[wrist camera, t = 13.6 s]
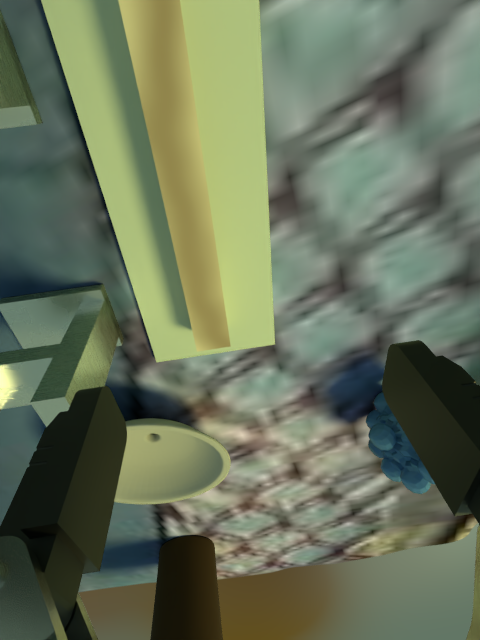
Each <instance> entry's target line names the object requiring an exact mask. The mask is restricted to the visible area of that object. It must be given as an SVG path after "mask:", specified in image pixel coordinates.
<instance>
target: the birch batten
mask: <svg viewBox="0 0 480 640" xmlns="http://www.w3.org/2000/svg"><path fill="white" fill-rule="evenodd" d="M118 1H119V6H120V10H121V15H122V19H123V24H124V28H125V33H126V37H127V42H128V46H129V51H130V55H131V59H132V64H133V68H134V73H135V77H136V82H137V86H138V91H139V95H140V100H141V104H142V109H143V113H144V117H145V122H146V126H147V131H148V135H149V140H150V144H151V149H152V153H153V158H154V162H155V167H156V171H157V175H158V180H159V184H160V189H161V193H162V198H163V202H164V207H165V211H166V216H167V220H168V225H169V229H170V233H171V238H172V242H173V247H174V251H175V256H176V260H177V265H178V269H179V274H180V278H181V283H182V287H183V291H184V296H185V300H186V305H187V309H188V314H189V318H190V323H191V327H192V332H193V336H194V341H195V345H196V349H197V352H198V351H205V350H211V349H218V348H224V347H231V345H230V338H229V331H228V325H227V318H226V311H225V304H224V297H223V291H222V284H221V277H220V270H219V263H218V256H217V250H216V243H215V236H214V229H213V222H212V216H211V209H210V202H209V195H208V188H207V182H206V175H205V168H204V161H203V154H202V148H201V141H200V134H199V127H198V120H197V114H196V107H195V100H194V93H193V86H192V80H191V73H190V66H189V59H188V52H187V46H186V39H185V32H184V25H183V18H182V11H181V5H180V0H118Z"/></svg>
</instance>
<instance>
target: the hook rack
mask: <svg viewBox="0 0 480 640" xmlns="http://www.w3.org/2000/svg"><path fill="white" fill-rule="evenodd" d="M41 123H43V122H42V120H41V117H40V114H39V112H38V109H37V106H36V104H35V101H34V98H33V96H32V93H31V90H30V88H29V85H28V82H27V80H26V77H25V74H24V72H23V69H22V66H21V64H20V61H19V58H18V56H17V53H16V50H15V48H14V45H13V42H12V40H11V37H10V34H9V32H8V29H7V26H6V24H5V21H4V18H3V16H2V13H1V10H0V129H2V128H10V127H19V126H27V125H35V124H41ZM0 311H1V313H2V315H3V316H4V318H5V320H6V321H7V323H8V325H9V326H10V328H11V330H12V331H13V333H14V335H15V336H16V338H17V339H18V341H19V343H20V344H21V346H22V348H23V349H20V350H14V351H7V352H0V410H1V409H6V408H12V407H19V406H25V405H32V406H33V408H34V409H35V411H36V412H37V414H38V415H39V417H40V418H41V420H42V421H43V423H44V424H45V426H46V427H47V426H48V425H49V424H50V423H51V422H52V420H53V419H54V418H55V417H56V416H57V415H58V414H59V413H60V412H64V411H68V410H69V407H70V405H71V402H72V400H73V398H74V395H75V393H76V392H77V391H78V390H82V389H89V388H96V387H102V386H105V382H106V379H107V376H108V372H109V369H110V365H111V362H112V358H113V355H114V351H115V348H116V346H121V345H122V343H123V339H124V338H123V336H122V333H121V330H120V328H119V325H118V322H117V320H116V317H115V314H114V312H113V309H112V306H111V304H110V301H109V298H108V296H107V293H106V290H105V288H104V285H103V284H100V285H93V286H86V287H79V288H72V289H65V290H58V291H51V292H44V293H36V294H29V295H22V296H15V297H8V298H2V299H1V300H0Z"/></svg>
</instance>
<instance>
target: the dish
mask: <svg viewBox="0 0 480 640" xmlns="http://www.w3.org/2000/svg"><path fill="white" fill-rule="evenodd" d="M125 423H126V428H127V442H126V447H125V452H124V457H123V462H122V466H121V471H120V476H119V481H118V485H117V490H116V495H115V500H114V502H120V503H128V504H159V503H168V502H174V501H179V500H184V499H188V498H191V497H194V496H197V495H200V494H202V493H204V492H206V491H208V490H210V489H212V488H214V487H215V486H216V485H218V484H219V483H220V482H221V481H222V480H223V479H224V478H225V477H226V475H227V474H228V472H229V469H230V463H231V461H230V457H229V454H228V452H227V450H226V449H225V448H224V447H223V445H221V444H220V443H219V442H218V441H217V440H215V439H214V438H212V437H210V436H208V435H206V434H204V433H202V432H200V431H198V430H196V429H194V428H192V427H190V426H188V425H185V424H183V423H179V422H176V421H172V420H166V419H155V418H147V419H135V420H130V421H125ZM152 433H155V434H152Z"/></svg>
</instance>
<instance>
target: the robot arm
mask: <svg viewBox="0 0 480 640" xmlns="http://www.w3.org/2000/svg"><path fill="white" fill-rule="evenodd" d="M382 389H383V394H384V398H385V400H386V402H387V404H388V406H389V408H390V409H391V411H392V413H393V414H394V416H395V418H396V419H397V421H398V423H399V424H400V426H401V428H402V429H403V431H404V433H405V434H406V436H407V438H408V439H409V441H410V443H411V444H412V446H413V448H414V449H415V451H416V453H417V454H418V456H419V458H420V459H421V461H422V463H423V464H424V466H425V468H426V469H427V471H428V473H429V474H430V476H431V478H432V479H433V481H434V483H435V484H436V486H437V488H438V489H439V491H440V493H441V494H442V496H443V498H444V499H445V501H446V503H447V504H448V506H449V508H450V509H451V511H452V513H453V514H454V516H459V515H465V514H473V515H474V517H475V518H476V520H477V521H478V523H479V527H478V530H477V543H476V561H475V580H474V599H473V614H472V621H471V626H470V629H469V632H468V635H467V638H466V640H480V386H479V385H476V382H475V381H474V379H473V378H472V377H471V376H470V375H469V374H468V373H467V372H466V371H465V370H464V369H463V368H462V367H461V366H459V365H457V364H456V363H454V362H452V361H451V360H449V359H447V358H446V357H444V356H437V357H436V356H435V355H434V354H433V353H432V352H431V350H430V349H429V348H428V347H427V346H426V345H425V344H424V343H423V342H422V341H419V340H417V341H410V342H404V343H397V344H392V345H390V347H389V349H388V354H387V360H386V365H385V370H384V376H383V381H382ZM126 442H127V428H126V423H125V420H124V418H123V416H122V413H121V411H120V409H119V407H118V405H117V403H116V401H115V398H114V396H113V394H112V392H111V390H110V389H109V387H107V386H102V387H96V388H89V389H82V390H78V391H77V392H76V393H75V395H74V398H73V400H72V402H71V405H70V407H69V410H68V411H64V412H60V413H59V414H58V415H57V416H56V417H55V418H54V419H53V420H52V422H51V423H50V424H49V425H48V426H47V427H46V428H45V430H44V432H43V434H42V437H41V439H40V441H39V443H38V445H37V451H35V452H34V454H33V456H32V458H31V461H30V463H29V464H30V466H29V467H27V469H26V472H25V474H24V476H23V478H22V480H21V483H20V485H19V487H18V489H17V491H16V493H15V496H14V498H13V500H12V502H11V504H10V507H9V509H8V511H7V513H6V515H5V517H4V520H3V522H2V524H1V526H0V640H98V638H97V636H96V633H95V631H94V628H93V626H92V624H91V621H90V619H89V617H88V614H87V612H86V609H85V607H84V605H83V602H82V600H81V597H80V595H79V594H78V590H79V586H80V582H81V577H82V574H85V573H91V572H98V571H100V567H101V562H102V557H103V553H104V548H105V543H106V538H107V533H108V529H109V524H110V519H111V514H112V509H113V505H114V500H115V495H116V490H117V485H118V481H119V476H120V471H121V466H122V462H123V457H124V452H125V447H126Z"/></svg>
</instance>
